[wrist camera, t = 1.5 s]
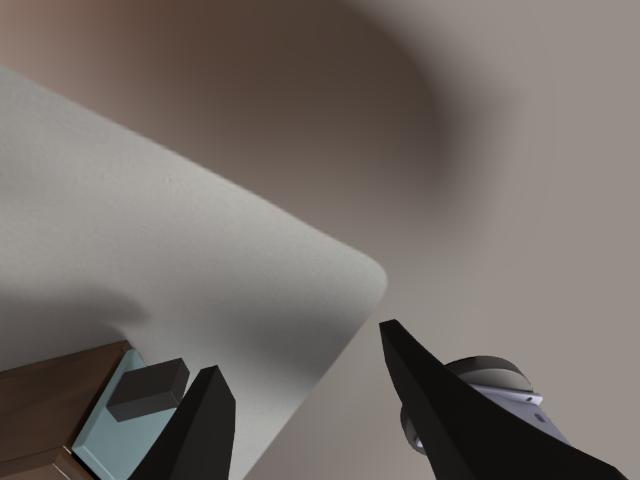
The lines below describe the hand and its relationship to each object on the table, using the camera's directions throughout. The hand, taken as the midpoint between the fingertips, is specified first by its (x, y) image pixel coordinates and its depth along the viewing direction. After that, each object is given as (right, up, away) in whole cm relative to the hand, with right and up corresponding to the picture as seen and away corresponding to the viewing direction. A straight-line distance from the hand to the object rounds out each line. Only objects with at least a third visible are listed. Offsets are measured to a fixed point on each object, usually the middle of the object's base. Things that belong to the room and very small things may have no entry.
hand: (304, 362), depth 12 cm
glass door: (-9, -5, +11) cm, 15 cm away
